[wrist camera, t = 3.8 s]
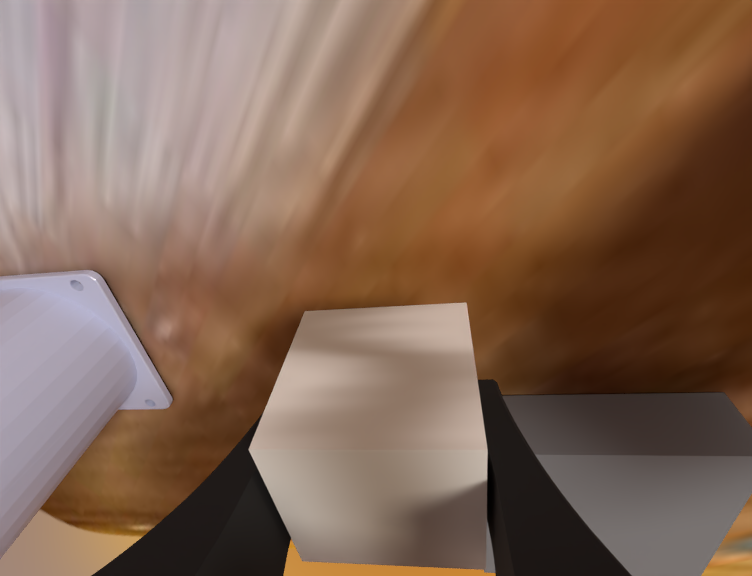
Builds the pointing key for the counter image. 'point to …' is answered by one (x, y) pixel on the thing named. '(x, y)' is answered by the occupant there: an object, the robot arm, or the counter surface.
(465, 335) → the cube
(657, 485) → the base
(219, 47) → the counter surface
